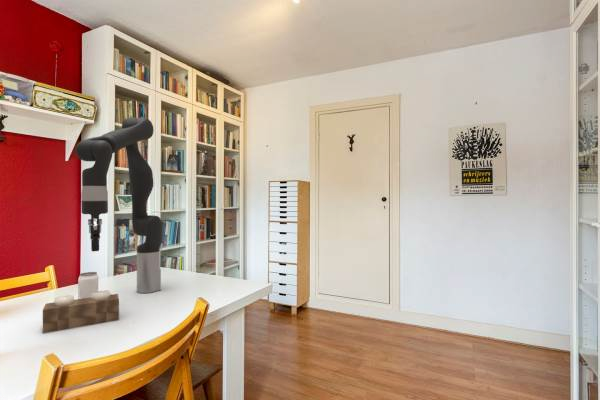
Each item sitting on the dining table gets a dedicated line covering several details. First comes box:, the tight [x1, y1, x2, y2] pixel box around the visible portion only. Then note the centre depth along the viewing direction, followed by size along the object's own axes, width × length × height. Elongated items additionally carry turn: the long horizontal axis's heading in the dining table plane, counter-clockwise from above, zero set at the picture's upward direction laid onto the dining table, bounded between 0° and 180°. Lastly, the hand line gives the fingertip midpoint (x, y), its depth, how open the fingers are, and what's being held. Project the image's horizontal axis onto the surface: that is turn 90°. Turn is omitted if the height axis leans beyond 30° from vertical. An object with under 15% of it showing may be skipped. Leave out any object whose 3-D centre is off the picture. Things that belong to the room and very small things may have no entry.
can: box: [77, 271, 99, 299], centre depth 122 cm, size 6×6×12 cm
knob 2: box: [92, 290, 111, 301], centre depth 107 cm, size 5×5×8 cm
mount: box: [42, 293, 120, 334], centre depth 104 cm, size 20×7×7 cm, turn 122°
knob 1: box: [53, 294, 75, 306], centre depth 102 cm, size 5×5×8 cm
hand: (95, 250), depth 108 cm, fingers closed
